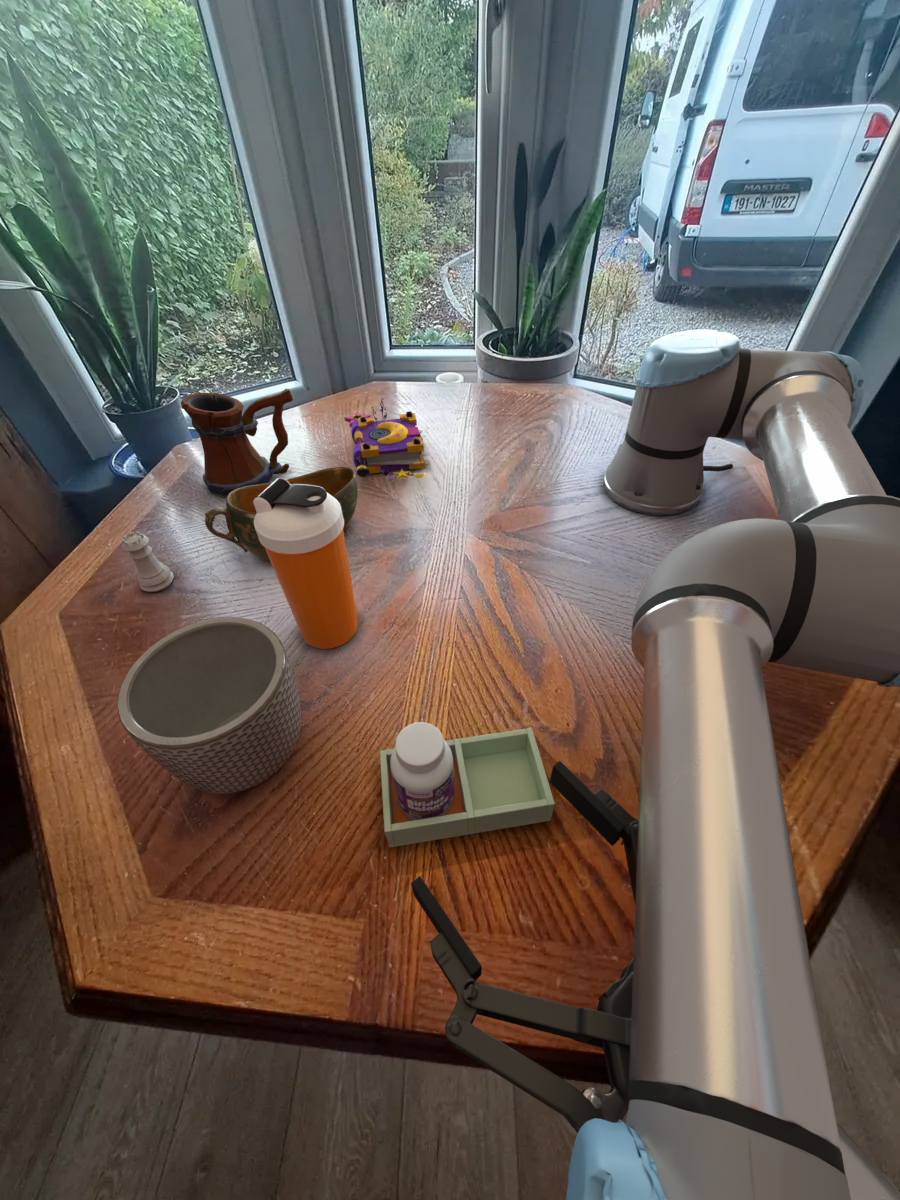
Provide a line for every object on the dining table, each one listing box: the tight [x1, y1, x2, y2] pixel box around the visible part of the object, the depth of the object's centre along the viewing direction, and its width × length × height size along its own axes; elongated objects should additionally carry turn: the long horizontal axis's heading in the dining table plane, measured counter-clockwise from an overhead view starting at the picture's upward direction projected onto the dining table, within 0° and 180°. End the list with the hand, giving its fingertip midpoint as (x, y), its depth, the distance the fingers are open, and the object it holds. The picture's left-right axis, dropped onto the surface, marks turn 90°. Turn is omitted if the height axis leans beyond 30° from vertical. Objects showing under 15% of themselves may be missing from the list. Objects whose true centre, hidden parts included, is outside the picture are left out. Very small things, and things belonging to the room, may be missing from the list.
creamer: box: [204, 466, 359, 564], centre depth 75 cm, size 13×20×10 cm, turn 99°
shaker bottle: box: [253, 477, 359, 650], centre depth 58 cm, size 9×9×20 cm
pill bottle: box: [390, 721, 454, 820], centre depth 45 cm, size 5×5×10 cm
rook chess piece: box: [121, 531, 175, 593], centre depth 70 cm, size 4×4×8 cm
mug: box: [179, 388, 294, 498], centre depth 87 cm, size 18×12×15 cm, turn 107°
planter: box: [116, 616, 303, 795], centre depth 49 cm, size 14×14×13 cm
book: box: [343, 397, 427, 482], centre depth 92 cm, size 14×25×12 cm, turn 10°
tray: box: [379, 727, 556, 849], centre depth 48 cm, size 15×8×4 cm, turn 99°
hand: (490, 824), depth 39 cm, fingers open, 13 cm apart
